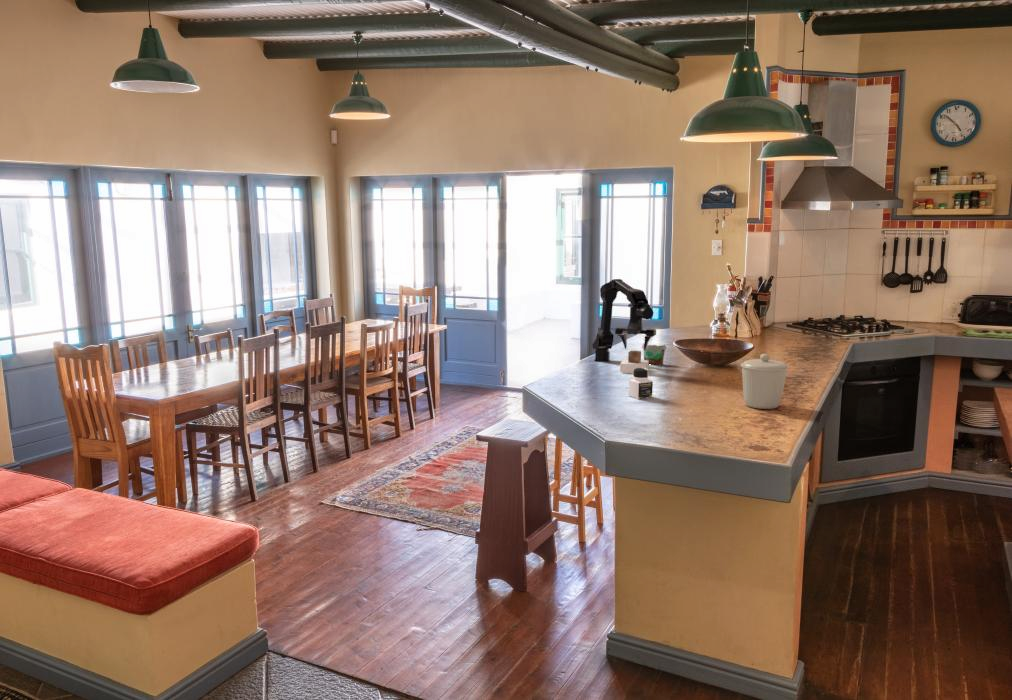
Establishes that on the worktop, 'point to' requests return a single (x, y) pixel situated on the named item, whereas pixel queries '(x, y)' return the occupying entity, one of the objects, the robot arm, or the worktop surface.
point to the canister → (763, 382)
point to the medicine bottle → (640, 384)
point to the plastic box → (632, 366)
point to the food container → (654, 354)
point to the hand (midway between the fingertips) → (635, 349)
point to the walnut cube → (634, 356)
